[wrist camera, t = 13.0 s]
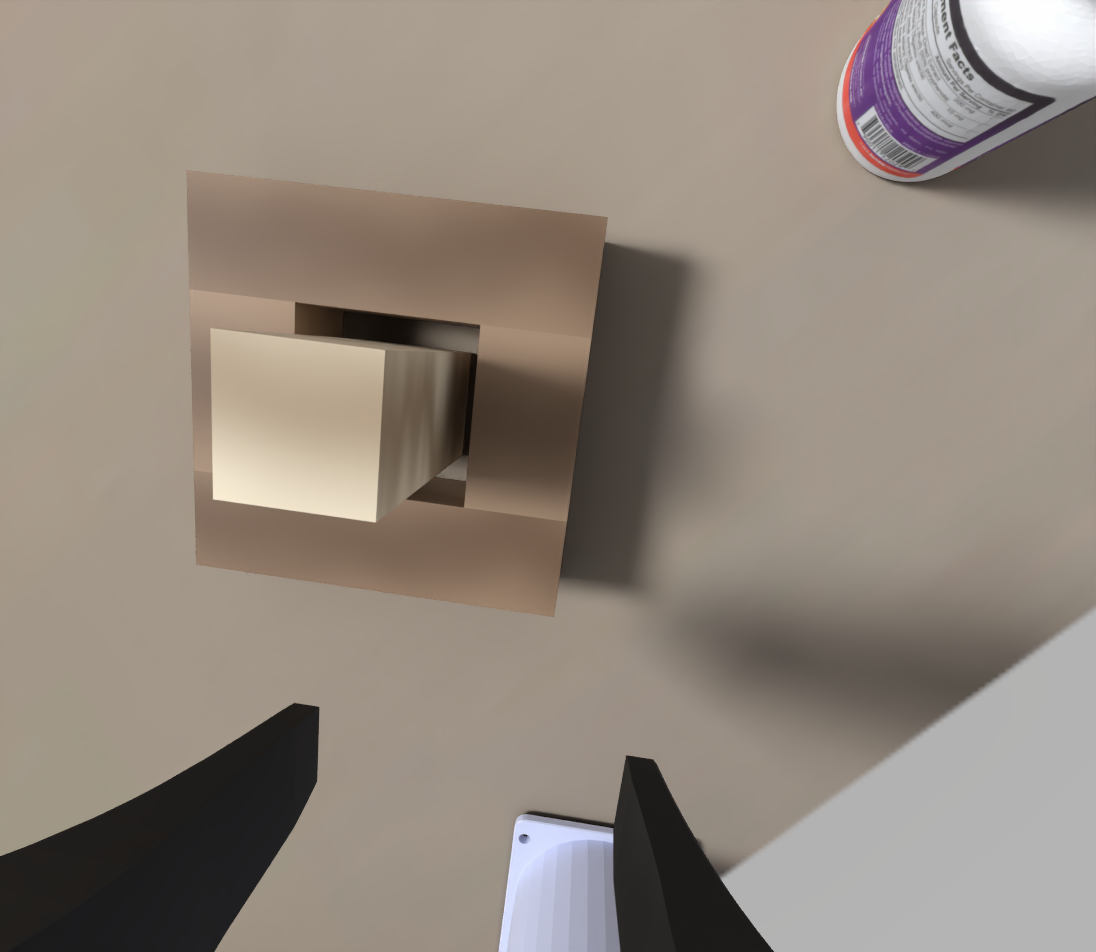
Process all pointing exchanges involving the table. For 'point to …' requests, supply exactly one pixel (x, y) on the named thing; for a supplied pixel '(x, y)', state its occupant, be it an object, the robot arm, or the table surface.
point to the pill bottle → (961, 80)
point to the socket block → (419, 294)
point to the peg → (332, 420)
